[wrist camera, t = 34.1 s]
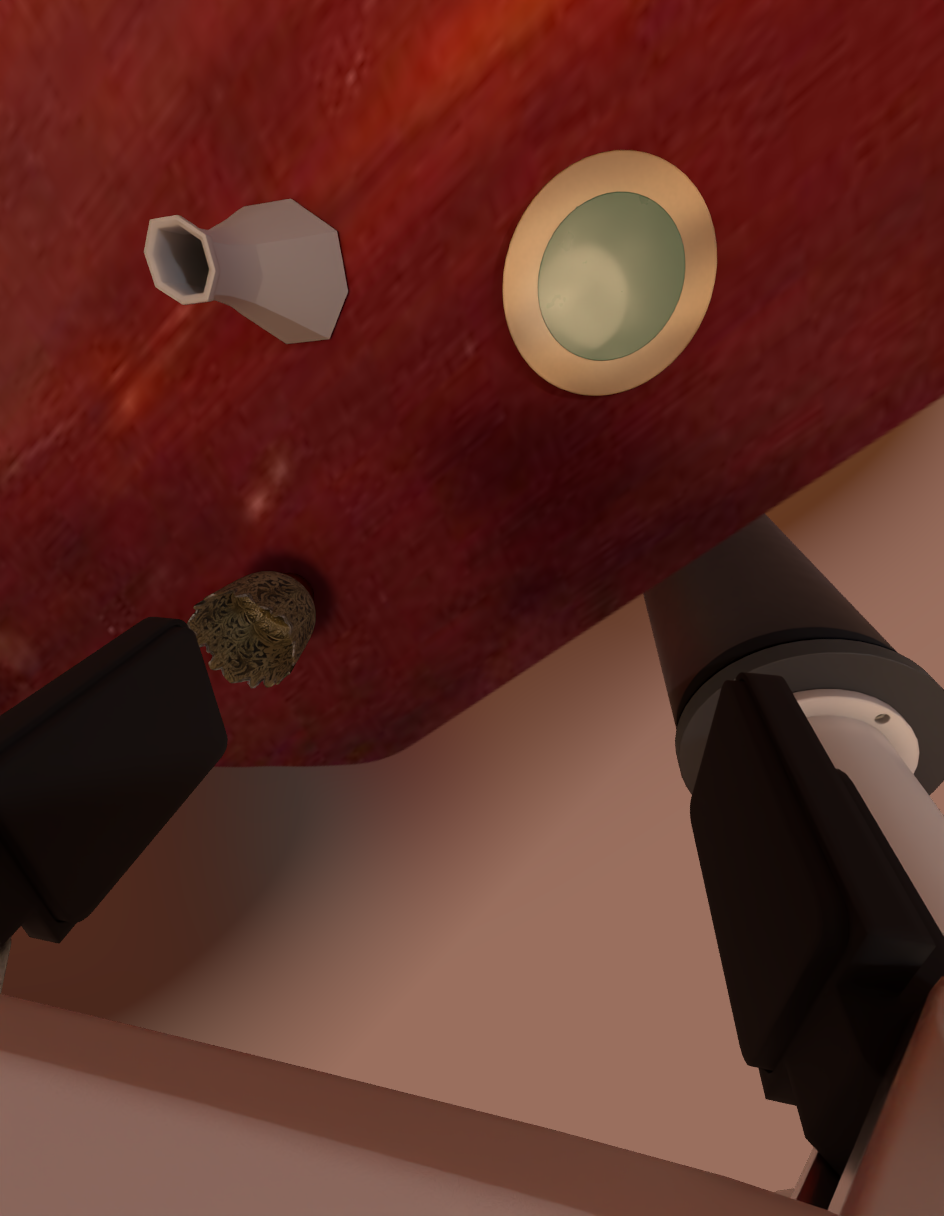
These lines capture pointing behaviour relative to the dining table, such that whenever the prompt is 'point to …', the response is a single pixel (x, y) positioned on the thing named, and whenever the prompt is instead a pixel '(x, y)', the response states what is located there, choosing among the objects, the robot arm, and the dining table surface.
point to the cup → (256, 626)
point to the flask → (255, 267)
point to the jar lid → (611, 276)
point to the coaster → (538, 227)
